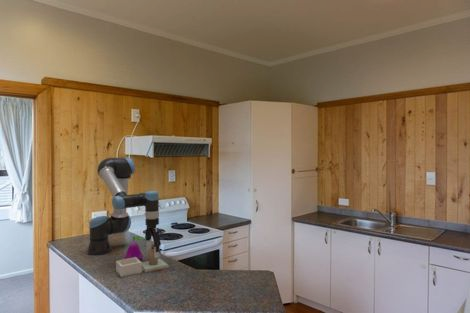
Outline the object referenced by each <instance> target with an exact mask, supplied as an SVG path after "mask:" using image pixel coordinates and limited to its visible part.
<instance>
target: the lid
mask: <svg viewBox="0 0 470 313" xmlns="http://www.w3.org/2000/svg"><path fill="white" fill-rule="evenodd" d="M148 251H149V252H148V260H147V261H146V260H145V261H141V264H142V269H144V270H145V271H151V270H155V269H160V268H164V267H168V266H169V264H168V263H166V261H165V260H163V259H162V258H159V257H158V258H154V248H151V249H150V250H148Z"/></svg>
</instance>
